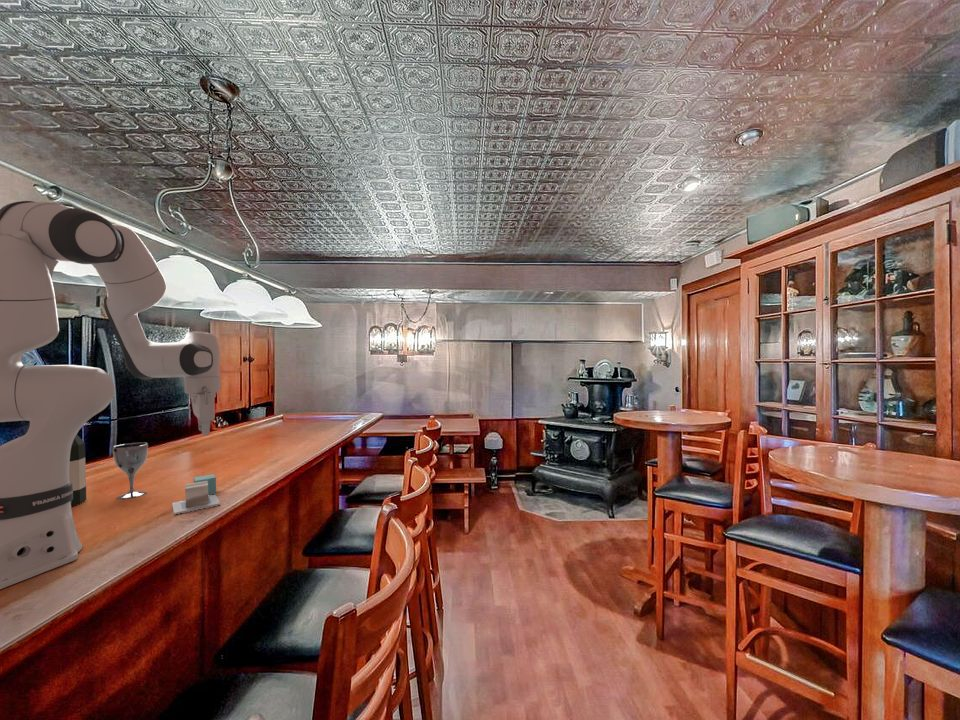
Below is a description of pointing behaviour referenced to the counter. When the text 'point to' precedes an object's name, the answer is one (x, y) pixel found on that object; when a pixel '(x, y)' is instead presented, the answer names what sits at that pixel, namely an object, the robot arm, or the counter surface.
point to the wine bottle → (78, 471)
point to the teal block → (211, 482)
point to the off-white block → (196, 493)
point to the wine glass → (130, 463)
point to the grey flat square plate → (181, 506)
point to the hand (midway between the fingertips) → (204, 432)
